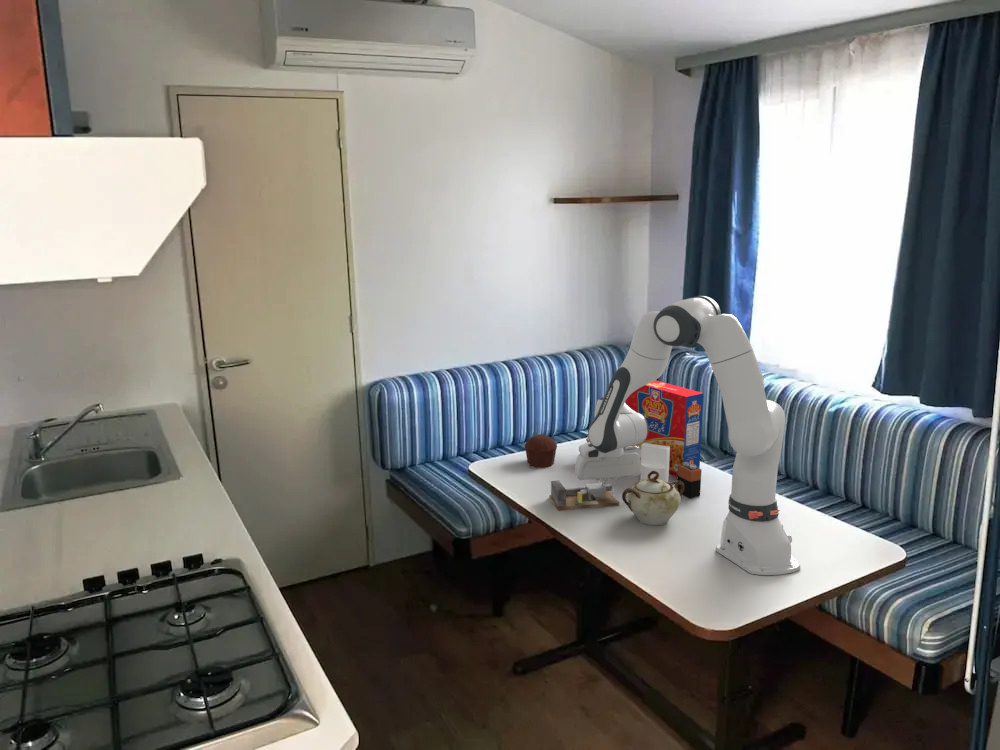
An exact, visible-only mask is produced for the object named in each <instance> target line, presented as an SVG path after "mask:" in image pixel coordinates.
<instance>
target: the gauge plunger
mask: <svg viewBox="0 0 1000 750" xmlns="http://www.w3.org/2000/svg"><path fill="white" fill-rule="evenodd" d="M584 487H585V489H584V490H580V492H581V493H582V496H584V495H585V496H586V497H587V499H588V500H601V499H605V487H604V486H603V485H602V483H601V482H595V483H585V484H584Z"/></svg>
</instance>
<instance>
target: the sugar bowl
mask: <svg viewBox="0 0 1000 750" xmlns="http://www.w3.org/2000/svg"><path fill="white" fill-rule="evenodd" d="M652 474H656V476H655V477H654V478H650V476H651V475H652ZM658 478H659V473H658V472H656V471H651V472H650V473H649V474H648V478H647V480H642V481H640V480H639V481H637V482H635V484H634V485H632V486H631V488H630V487H629V488H628V487H627V488H626V489H624V490H623V492H622V496H621V497H622V501H623V503H624V504H625V505H626V506H627V508H629V510H630V512H632V513H633V514H634V516H635V517H637V519H638V521H640V523H642V524H645V525H649V526H661V525H665V524H667V523H668V522H669V520H670V519H671V518H672V516H674V514H675V513H676V511H678V509H679V507H680V505H681V496H683V495H682V493H683V492H684V489H685V485H684V483H683V482H682V481H677V480H675V481H672V482H669V481H668V482H666V481H662V480H658ZM678 484H680V485H681V490H680V492H678V488H677V486H678Z"/></svg>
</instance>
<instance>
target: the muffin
mask: <svg viewBox="0 0 1000 750" xmlns="http://www.w3.org/2000/svg"><path fill="white" fill-rule="evenodd" d="M557 447H558V444H557V442H555V440H554V439H553V438H552V437H550V436H549V435H546V434H535V435H533V436H530V438H529V439H528V440H527V441H526V442H525V443H524V449H525V454H526V460H527V464H528V465H529V467H530V468H531V467H532V468H536V469H546V468H551V467H552V466H553V465H554V464H555V458H556V453H557Z"/></svg>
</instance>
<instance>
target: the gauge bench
mask: <svg viewBox="0 0 1000 750" xmlns="http://www.w3.org/2000/svg"><path fill="white" fill-rule="evenodd" d="M584 489H585V486H584V487H574V488H573V487H572V488H566V487H565V486H564V485H563V483H562V482H561V481H560V480H550V494H549V495H548V496H549V500H550V501H551V503H552V504H553V506H554V507H555V509H556V510H557V511H569V510H580V509H582V510H583V509H593V508H605V507H615V506H617V507H618V506H619V505H620V502H619V500H618V499H616V496H614V495H613V494H612V493H611V491H605V499H601V500H588V499H587V497H586V496H585V495H584V496H582V503H578V502H577V492H580V490H584Z"/></svg>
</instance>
